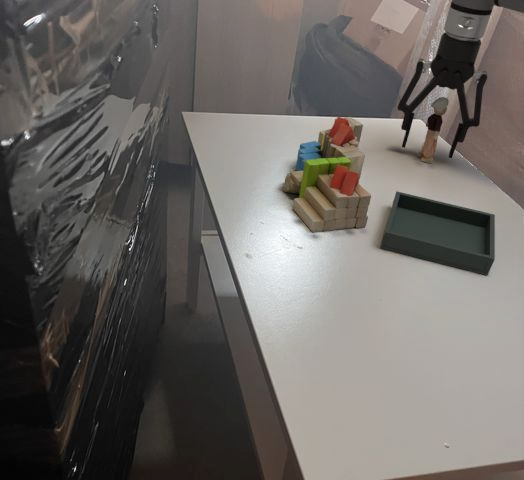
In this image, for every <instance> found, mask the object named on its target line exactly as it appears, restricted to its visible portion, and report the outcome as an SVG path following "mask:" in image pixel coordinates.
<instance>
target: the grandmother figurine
mask: <svg viewBox="0 0 524 480" xmlns="http://www.w3.org/2000/svg"><path fill="white" fill-rule="evenodd" d="M449 103H450V100H449V98H447V97H444V96H440V97H438V98H437V99H434V101H433V102H432V103H431V104H430V107H431V108H433V113H432V114H431V115H429V116H428V117H427V119H426V123H425V127H426V128H427V131H426V135H425V139H424V142H423V144H422V147H421V150H420V152H418V154H417V157H419V158H420V161H421V162H424V163H427V164H433V163H434V158H433V157H435V155H436V150H437V145H438V140H439V134H440V132H441V127H442V125H443V122H444V120H443V116H444V115H445V114H446V112H447V110H448V106H449Z"/></svg>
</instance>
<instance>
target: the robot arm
mask: <svg viewBox="0 0 524 480" xmlns="http://www.w3.org/2000/svg"><path fill="white" fill-rule="evenodd" d="M494 6H496V7H498V8H504V9H507V10H510V11H511V10H512V11H515V12H518V13H521V14H524V0H451V2H450V6H449V9H448V13H447V15H446V19H445V22H444V26H443V30H444V33H442V34H441V37H440V40H439V43H438V46H437V50H436V53H435V56H434V58H433V59H432V60H424V58H419V59H418V60H417V62H416V67H415V72H414V74H413V76H412V77H411V80H410V82H409V83H408V85H407V87H406V89H405V91H404V93H403V95H402V96H401V98H400V101H399V103H398V105H397V110H398V111H401V112H402V113H403V114H404V115H403V119H402V123H401V130H402V131H405V133H404V137H403V140H402V143H401V148H404V149H405V148H406V146H407V142H408V139H409V135H410V131H411V128H412V125H413V122H414V118H415V114H416V113H415V112H414V111H415V110H416V109H417V108H418V107H419V106H420V104H422V103H423V101H424V100H425V99H426V98H427V97H428V96H429V95H430V94H431V93H432V91H433V90H435V89H436V87H438V88H447V89H449V90H453V91H455V90H456V94H457V99H458V104H459V111H460V115H461V116H460V117H461V121H462V122H459V123H458V125H457V128H456V132H455V135H454V137H453V140H452V143H451V145H450V150H449V152H448V159H453V157H454V154H455V151H456V148H457V145H458V143H461V144H462V143H464V141H465V138H466V136H467V133H468V130H469V129H470V128H472V127H475V128H477V127H478V126H480V123H481V113H482V112H481V111H482V103H483V102H482V101H483V92H484V91H483V90H484V87H485V85H486V82H487V80H488V72H487V71H486V70H485V71H484V70H483V71H480V70H476V67H475V63H476V61H477V58H478V55H479V52H480V49H481V46H482V40H481V39H483V37H484V36H485V33H486V31H487V27H488V25H489V21H490V18H491V15H492V13H493V10H494ZM428 69H430V71H431V73H432V74H431V75H432V76H433V77H432V78H431V79H430V80H429V81H428V83H427V84H426V85H425V87H423V89H421V91H420V92H419V93H418V94H417V95H416V97H415V98H413V100H412V101H411V102H410V103H409V104H407V103H408V100H409V99H410V97H411V95H412V93H413V92H414V89H415V88H416V86H417V84H418V82H419V81H420V80H421V79H420V78H421V76H422V74H425V73H426V72H427V71H428ZM472 77H473V79H474V81H473V82H474V84H475V85H476V87H475V97H474V99H475V100H474V108H473V117H472V118H471V117H470V114H469V113H470V112H469V108H468V101H467V95H466V89H465V84H466V83H467V82H468V81H469V80H470V79H471V78H472Z"/></svg>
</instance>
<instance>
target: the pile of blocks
mask: <svg viewBox="0 0 524 480" xmlns="http://www.w3.org/2000/svg"><path fill="white" fill-rule="evenodd" d="M363 128H364V124H363V123H362V122H360V121H358V120H356V119H355V118H353V117H352V116H346V117H341V116H337V117H336V118H335V119H334V122H333V124H332V126H331V128H328V129H325V130H320V131H319V132H318V138H317V141H316V140H313V141H312V140H311V141H308V142H303V143H300V144H299V148H298V151H297V157H296V165H295V171H294V170H293V171H290V173H287V174H286V175H285V177H284V184H283V189H282V192H285V193H291V194H296V195H297V194H298V195H299V196H298V197H295V198H294V199H293V203H292V210H294V212H295V213H296V214H297V216H298V217H299V218H300V219H301V220H302V221H303V223H304V224H305V225H306V226H307V228H308V229H309V230H310V231H311V232H312V233H319V232H331V231H337V230H344V229H354V228H356V229H359V228H366V226H367V223H368V220H369V216H368V215H367V214H368V210H369V206H370V203H371V198H372V195H371V194H370V193H369V191H367V190H366V189H365V188H364V187H363V186H362V185H360V179H361V175H362V170H363V167H364V162H365V158H366V154H365V153H364V152H362V150H360V149H359V144H360V141H361V137H362V132H363Z"/></svg>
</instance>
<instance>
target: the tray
mask: <svg viewBox="0 0 524 480" xmlns="http://www.w3.org/2000/svg"><path fill="white" fill-rule="evenodd" d="M381 239H382V240H381V244H380V246H379V249H383V250H385V251H390V252H394V253H398V254H402V255H406V256H409V257H412V258H413V257H414V258H417V259H421V260H426V261H430V262H432V263H437V264H440V265H441V264H442V265H445V266H449V267H454V268H456V269H462V270H464V271H469V272H473V273H477V274H481V275H485V276H488V275H489V273H490V271H491V270H492V269H491V268H492V267H493V264H494V262H495V260H496V254H495V253H496V215H495V214H493V213H490V212H485V211H482V210H476V209H473V208H469V207H465V206H459V205H456V204H451V203H448V202H443V201H439V200H435V199H431V198H427V197H422V196H418V195H415V194H410V193H405V192H401V191H398V190H397V191H396V192H395V195H394V198H393V201H392V205H391V208H390V213H389V215H388V219H387V222H386V224H385V229H384V232H383V235H382V238H381Z"/></svg>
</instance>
